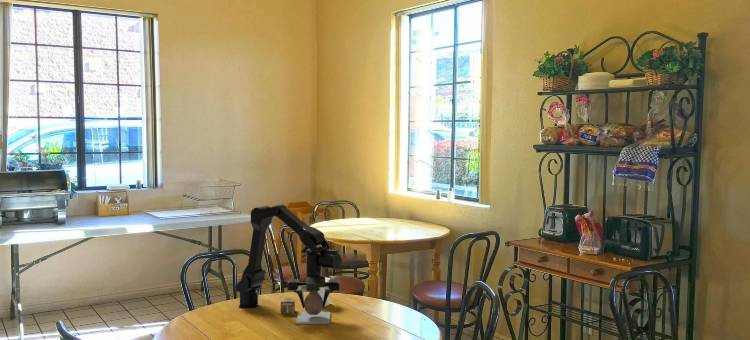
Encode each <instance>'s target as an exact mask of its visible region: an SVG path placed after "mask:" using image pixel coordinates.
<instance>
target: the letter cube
mask: <svg viewBox="0 0 750 340" xmlns="http://www.w3.org/2000/svg"><path fill="white" fill-rule="evenodd" d="M295 312H296V297H281V300H280V315H295Z"/></svg>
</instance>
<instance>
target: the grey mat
mask: <svg viewBox="0 0 750 340" xmlns="http://www.w3.org/2000/svg"><path fill="white" fill-rule="evenodd" d="M295 321H296V322H295V325H330V324H331V311H330V312H329V311H321V312H320V313H319V314H317V315H309V314H308V313H307V312H306V311H305V312H303V311H298V313H297V316H296V320H295Z"/></svg>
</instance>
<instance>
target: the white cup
mask: <svg viewBox="0 0 750 340" xmlns="http://www.w3.org/2000/svg"><path fill="white" fill-rule="evenodd" d="M324 277H325V282H329V279H331V278H329V277H326V276H324ZM324 292H325V287H320V290H319V291H318V293H319V294H320V295H321V297H322V299H324ZM330 297H331V293H330V294H329V296H328V298H327V300H326V303H325V306H324V307H327V306H329V305H330Z"/></svg>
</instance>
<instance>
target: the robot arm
mask: <svg viewBox="0 0 750 340" xmlns="http://www.w3.org/2000/svg"><path fill="white" fill-rule="evenodd" d="M274 217H276V218H278V219H279V220H280V221H281V222H282V223H283V224H285V225H286V226H287V227H288V228H289V229H290V230H292V231H293V232H294V233H295V234H296V235H297V236H298V237H299V240H300V242H301V243H302V244H303V246H304V248H303V249H301V251H300V252H301V253H302V254H305V277H304V278H305V279H304V280H305V281H300V279H299V278H296V279H295V278H291V279H289V280H288V281H287V284H286V285H287V287H286V288H287V289H286V290H287V291H293V293H295V294H297V295H298V298H299V300H300V303H301V307H302V308H303V309H305V308H304V301H305V296H304V289H303V288H305V290H306V291H307V292H310V291H319V290H320V287H325V292H324V299H323V308H322V309H325V307H326V306H325V303H326V300H327V298H328V296H329V294H330V295H331V293H334V291H340V280H339V279H337V278H336V279H333V278H330V279H329V282H325V277H326V276H323V275H322V274H323V273H322V272H323V269H322V268H325V269H330V270H335V271H336V270H339V269H340V267H341V265H342V262H343V259H342V257H341V254H340V253H339V250H338V249H331V247H330V245H329V243H328V241H327V239H326V238H325V234H324V232H322V231H321V230H319V229H318V228H315V227H314V226H311V225H309V224H307V223H305V222H304V221H302V219H300V218H299V217H298V216H297V215H295V214H294V213H293V212H292V211H291V210H290V209H289V208H288V207H287V206H286V205H285V204H276V205H274V206H268V205H265V206H258V207H257V206H256V207H254V208H253V209H251V211H250V225H251V226H252V236H251V242H250V249H249V255H248V261H247V265H246V267H245V268H244V270H243V272H242V275H241V279H240V280H239V281H238V283H237V284H236V285H235V291H236V292H238V293H239V306H238V308H240V309H241V308H256V307H257V306H258V305H259V299H260V298H259V292H258V289H261V286H262V284H263V283H264V281H266V280H265V279H266V278H265V277H266V273H267V272H266V270H265V269H263V267H262V260H263V255H264V248H265V243H266V241H265V240H266V235H267V230H268V228H270V226H271V224H272V220H273V218H274Z"/></svg>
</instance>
